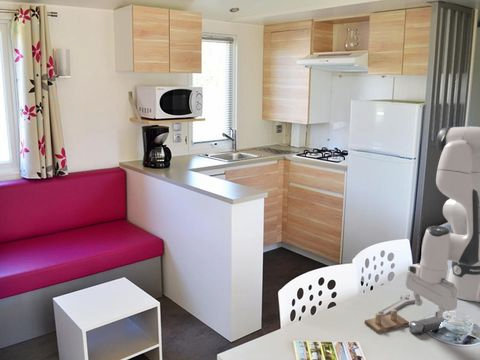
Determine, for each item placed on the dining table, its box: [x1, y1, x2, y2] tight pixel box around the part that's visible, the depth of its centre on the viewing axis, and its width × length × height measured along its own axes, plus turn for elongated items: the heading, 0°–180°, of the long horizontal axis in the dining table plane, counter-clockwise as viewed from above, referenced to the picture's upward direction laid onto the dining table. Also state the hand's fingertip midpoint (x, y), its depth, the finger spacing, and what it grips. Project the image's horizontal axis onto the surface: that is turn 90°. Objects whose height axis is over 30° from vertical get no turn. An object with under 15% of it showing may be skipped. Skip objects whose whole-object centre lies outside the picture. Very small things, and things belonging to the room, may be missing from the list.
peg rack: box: [364, 309, 410, 334], centre depth 166 cm, size 14×7×5 cm, turn 114°
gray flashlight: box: [409, 315, 447, 336], centre depth 163 cm, size 14×4×3 cm, turn 114°
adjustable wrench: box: [377, 292, 415, 316], centre depth 181 cm, size 25×6×2 cm, turn 125°
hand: (428, 310), depth 162 cm, fingers open, 8 cm apart
